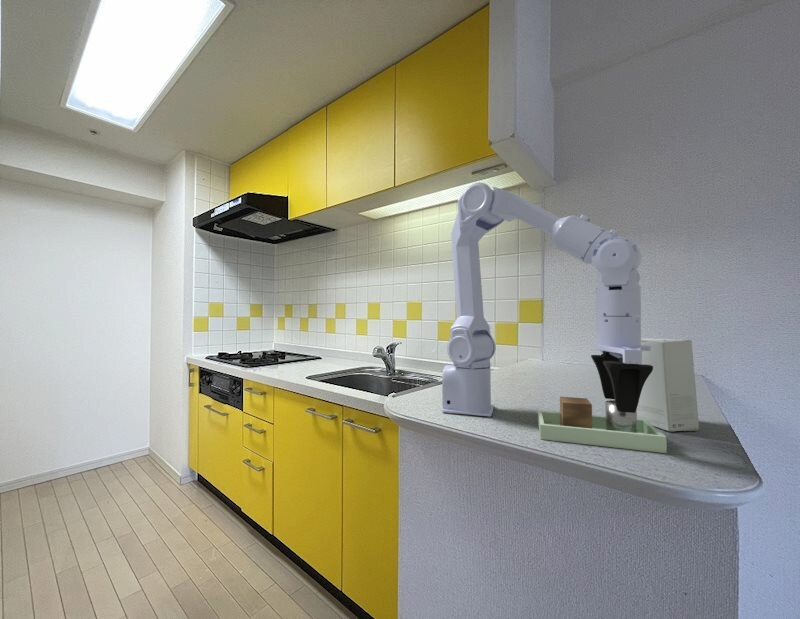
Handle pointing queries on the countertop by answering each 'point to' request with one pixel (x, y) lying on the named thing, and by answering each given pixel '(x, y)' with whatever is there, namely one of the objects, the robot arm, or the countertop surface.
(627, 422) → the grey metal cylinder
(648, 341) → the skincare box
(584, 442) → the parts tray
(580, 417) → the walnut block
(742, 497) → the countertop surface
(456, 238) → the robot arm
